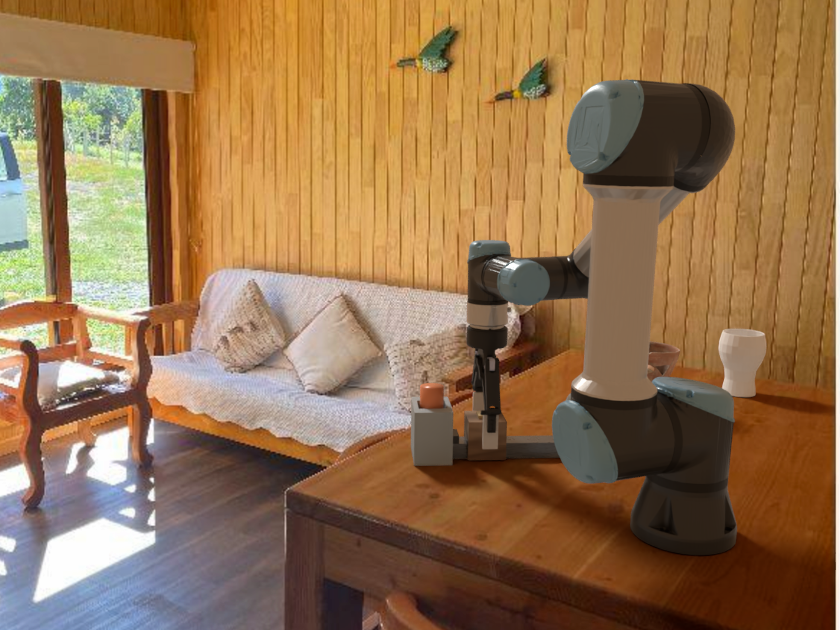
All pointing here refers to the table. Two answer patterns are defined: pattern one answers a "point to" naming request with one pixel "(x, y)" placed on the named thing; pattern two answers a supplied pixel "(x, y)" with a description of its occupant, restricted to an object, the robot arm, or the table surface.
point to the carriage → (474, 437)
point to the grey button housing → (431, 434)
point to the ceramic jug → (661, 360)
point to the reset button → (431, 396)
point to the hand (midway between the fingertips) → (484, 436)
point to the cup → (741, 359)
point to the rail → (513, 447)
